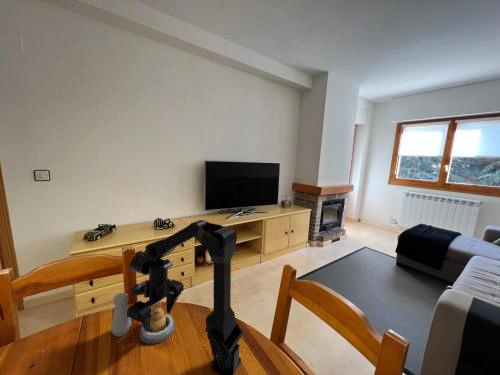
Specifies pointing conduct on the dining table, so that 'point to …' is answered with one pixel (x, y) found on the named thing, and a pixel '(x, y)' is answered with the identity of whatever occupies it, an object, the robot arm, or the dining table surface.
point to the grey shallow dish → (158, 336)
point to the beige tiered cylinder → (158, 320)
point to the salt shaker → (120, 315)
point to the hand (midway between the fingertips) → (158, 321)
